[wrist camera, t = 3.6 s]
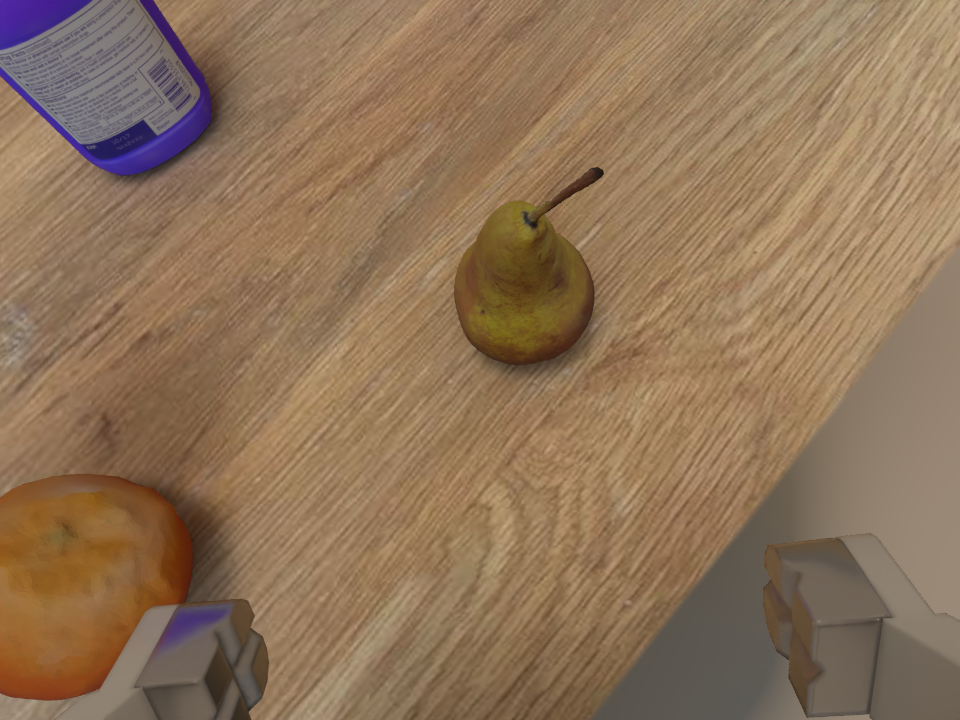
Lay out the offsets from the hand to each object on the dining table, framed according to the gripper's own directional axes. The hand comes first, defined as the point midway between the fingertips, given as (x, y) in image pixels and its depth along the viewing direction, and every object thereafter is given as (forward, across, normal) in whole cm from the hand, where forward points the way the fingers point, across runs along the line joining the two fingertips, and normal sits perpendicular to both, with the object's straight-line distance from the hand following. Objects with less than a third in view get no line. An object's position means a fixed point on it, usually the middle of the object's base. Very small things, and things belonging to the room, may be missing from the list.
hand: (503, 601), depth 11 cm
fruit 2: (+20, -1, +4) cm, 21 cm away
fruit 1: (+14, +17, +11) cm, 24 cm away
